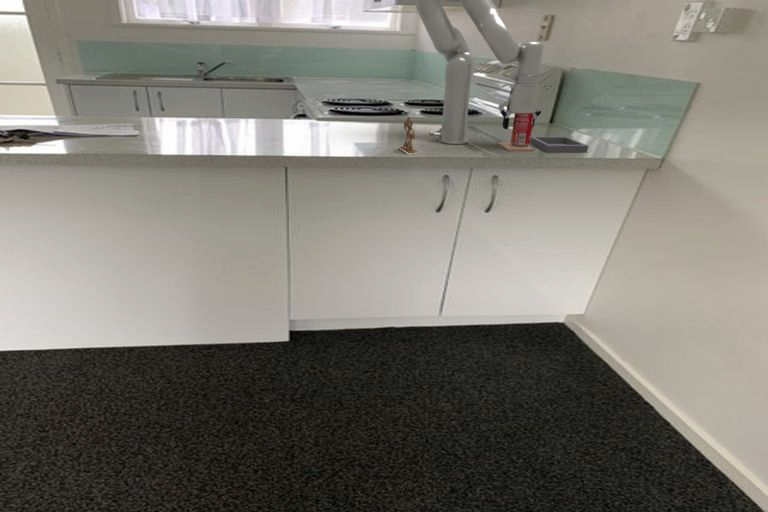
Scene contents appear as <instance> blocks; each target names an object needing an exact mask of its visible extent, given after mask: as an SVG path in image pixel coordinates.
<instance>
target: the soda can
mask: <svg viewBox="0 0 768 512" xmlns="http://www.w3.org/2000/svg"><path fill="white" fill-rule="evenodd" d="M533 119H534V113H533V114H515V113H514V118H513V124H512V128H511V129H512V131H511V138H510V142H511V144H512V145H514V146H521V147H523V146H530V145H531V144H530V138H531V137H532V131H533V129H532V125H533Z"/></svg>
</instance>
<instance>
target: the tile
mask: <svg viewBox="0 0 768 512" xmlns="http://www.w3.org/2000/svg"><path fill="white" fill-rule="evenodd" d="M497 145H498V146H499V147H501V148H503V149H504V150H505V151H507V150H508V152H533V151H534V148H533V147H531V146H530V145H528V146H523V147H521V146H514V145H512V144H511V141H509V142H508V141H500V142H499V141H497Z"/></svg>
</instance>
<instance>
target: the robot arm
mask: <svg viewBox="0 0 768 512" xmlns="http://www.w3.org/2000/svg"><path fill="white" fill-rule="evenodd" d="M414 1H415V7H416V11H417V13H418V15H419V17H420V20H421V21H422V23H423V24H422V25H424V28H425V31H426V32H427V34H428V36H429V38H430V40H431V42H432V44H433V47H434V48H435V50H436V51H437V52H438V53H439V54H441V55H442V56H443V57H444V59H445V61H446V63H447V64H446V67H445V73H444V95H443V109H442V110H443V111H442V118H441V119H442V120H441V121H442V122H441V127H439V129H437V130H429V133H428V135H429V136H430V137H436V141H437V140H438V141H440V142H439V143H441V142H443V143H442V144H446V143H447V145H466V144H467V143H469V142H470V141H469V138H468V137H466V131H467V121H468V115H469V114H468V113H469V103H470V97H471V96H470V94H471V83H472V81H471V80H472V77H473V75H474V74H475V72H476V69H477V64H476V60H475V57H474V55H473V54H472V52H471V49H470V48H469V45H468V44H467V41H466V40H465V38H464V36H463V34H462V32H461V31H460V30H459V29H458V28H457V27H455V26H453V24H452V22H451V21H450V18H449V17H448V15H447V12H446V11H445V9H444V7H443V6H442V3H441V1H442V2H447V3H449V2H450V3H459V4H461V6H462V8H463V9H464V10H465V12H466V14H468V16H469V18H470V19H471V22H472V23H473V24H474V26H475V28H476V29H477V30H478V32H479V34H480V35H481V36H482V39H484V42H485V43H486V44H487V46H488V47H489V48H490V50H491V52H492V53H493V55H494V56H495V57H496V59H497V61H498V62H500V63H501V64H505V65H509V64H514V63H517V68H516V69H517V70H516V74H515V75H514V76H513V75H512V77H511V80H512V81H514V83H512V85H511V89H510V91H509V95H508V99H507V100H506V101H504V102H502V103H500V104H498V109H499V112H500V114H501V115H502V117H503V119H502V128H503V129H504V130H508V129H509V125H510V116H511V115H512V114H514V115H515V114H533V113H534V119H533V125H532V130H533V128H534V126H535V121H536V119H537V118H538V117H539V116H540V115H541V114H542V112H543V110H544V109H545V106H544V105H543V104H541V102H539V96H540V89H539V88H540V85H539V84H538V79H539V78H538V77H539V73H540V66H541V62H542V57H543V52H544V43H543V42H541V41H520V40H519V41H518V40H515V39H514V38H513V36H512V35H511V33H510V32H509V30H508V29H507V27H506V25H505V24H504V21H503V20H502V18H501V16H500V13H499V12H500V11H499V9H498V8H497V6H496V5H495V3H494V2H493V0H414ZM505 107H506V111H505V109H504V108H505ZM438 141H437V142H438Z"/></svg>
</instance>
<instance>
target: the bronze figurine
mask: <svg viewBox="0 0 768 512" xmlns="http://www.w3.org/2000/svg"><path fill="white" fill-rule="evenodd" d="M413 122H414V121H413V118H412V117H411V116H408V117H407V118H406V120H405V121H403V128H404V131H405V132H406V137H405V141H404V142H403V143H404V144H403V145H402V146H399V147H400V148H401V149H403V150H405V151H406V152H408V153H415V152H418V151H417V150H415V149H414V147H413V142H412V141H413V140H415V136H416V135H415V130H414V128H412V127H413V125H414V123H413ZM404 147H406V148H404Z"/></svg>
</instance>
